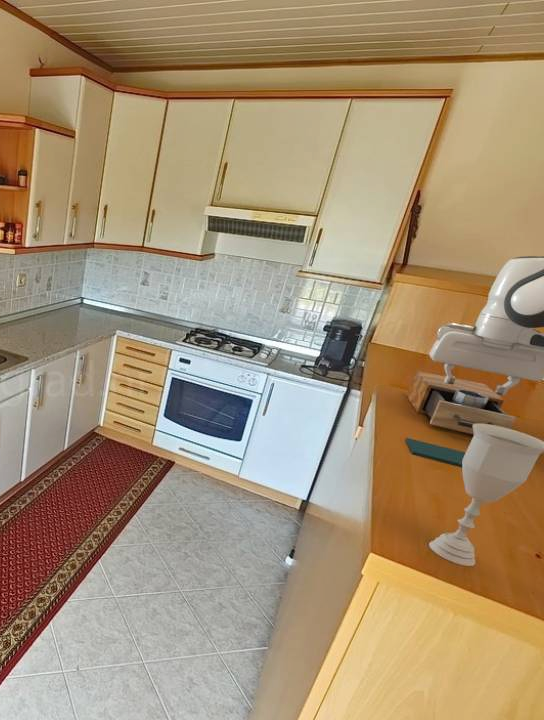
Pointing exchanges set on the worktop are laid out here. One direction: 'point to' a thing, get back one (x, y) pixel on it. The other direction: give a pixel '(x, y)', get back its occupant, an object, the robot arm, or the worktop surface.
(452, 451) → the mat
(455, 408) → the wooden drawer box
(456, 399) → the gray faceted container
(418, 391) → the wooden drawer cabinet
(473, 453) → the chalice
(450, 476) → the worktop surface
